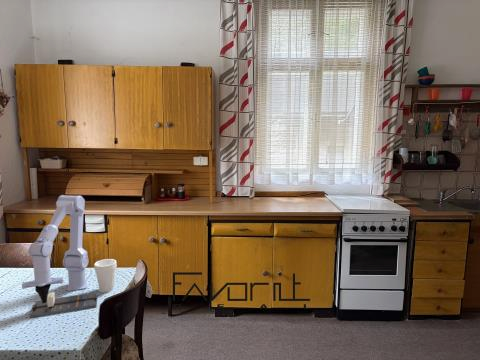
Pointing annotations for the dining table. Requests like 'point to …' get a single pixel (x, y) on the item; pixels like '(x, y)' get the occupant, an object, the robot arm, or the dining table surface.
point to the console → (65, 305)
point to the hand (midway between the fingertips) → (44, 302)
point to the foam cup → (106, 274)
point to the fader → (51, 299)
